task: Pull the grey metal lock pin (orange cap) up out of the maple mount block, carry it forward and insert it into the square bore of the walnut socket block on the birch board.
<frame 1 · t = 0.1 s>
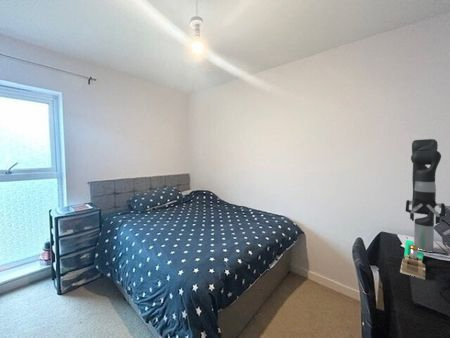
hand: (424, 222, 102), 29 cm above the table, fingers open, 8 cm apart
lock pin: (413, 263, 116), point 1 cm above the table, touching dock board
dock board: (412, 269, 111), on the table
camera mount: (414, 258, 124), on the table
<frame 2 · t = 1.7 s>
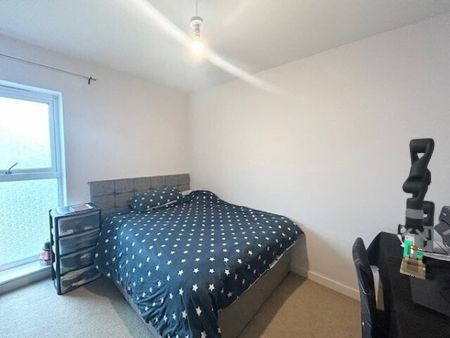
hand: (413, 244, 115), 12 cm above the table, fingers open, 8 cm apart
nothing on the table moved.
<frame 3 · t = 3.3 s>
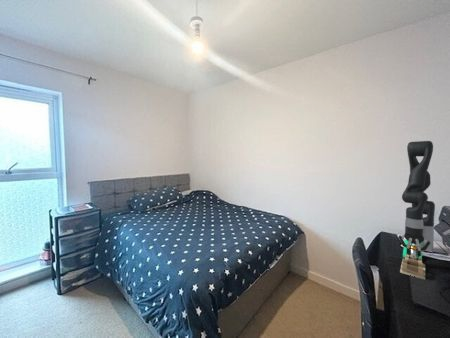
hand: (413, 255, 115), 6 cm above the table, fingers closed on lock pin, 3 cm apart
lock pin: (413, 263, 116), point 1 cm above the table, touching dock board, gripper
everything else where it was.
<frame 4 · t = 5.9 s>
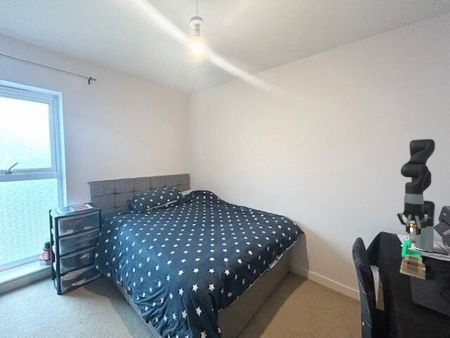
hand: (413, 233, 107), 21 cm above the table, fingers closed on lock pin, 3 cm apart
lock pin: (412, 242, 107), point 17 cm above the table, touching gripper
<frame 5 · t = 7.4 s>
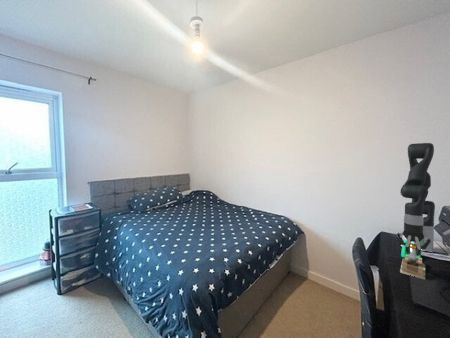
hand: (412, 254, 107), 10 cm above the table, fingers closed on lock pin, 3 cm apart
lock pin: (412, 262, 108), point 5 cm above the table, touching gripper
when the fingers open (7 cm above the table, at t = 8.6 s): lock pin drops 1 cm, resting on dock board.
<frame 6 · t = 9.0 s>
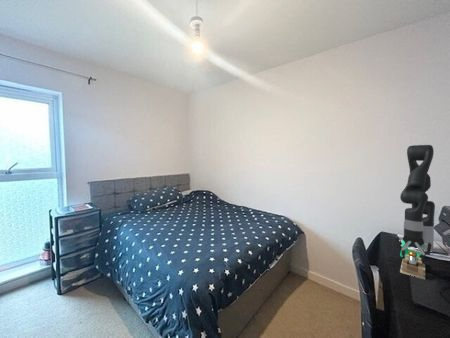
hand: (412, 258, 108), 8 cm above the table, fingers open, 6 cm apart
lock pin: (412, 271, 108), point 1 cm above the table, touching dock board
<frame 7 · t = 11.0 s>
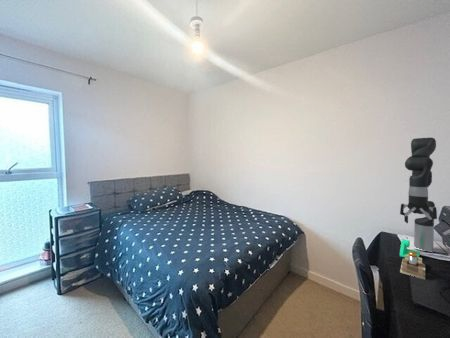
hand: (417, 224, 108), 26 cm above the table, fingers open, 8 cm apart
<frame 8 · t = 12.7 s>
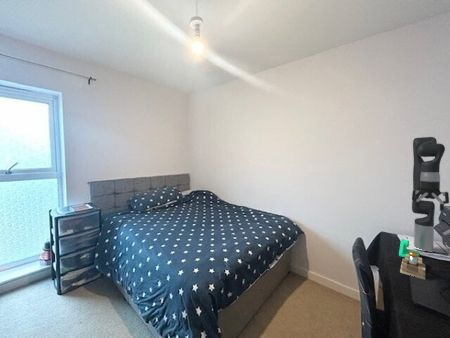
hand: (429, 209, 111), 33 cm above the table, fingers open, 8 cm apart
at the end: lock pin 0.0 cm from the target spot on the dock board, point 1.0 cm above the dock board's base; lock pin tilted 1°; the gripper is holding nothing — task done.
